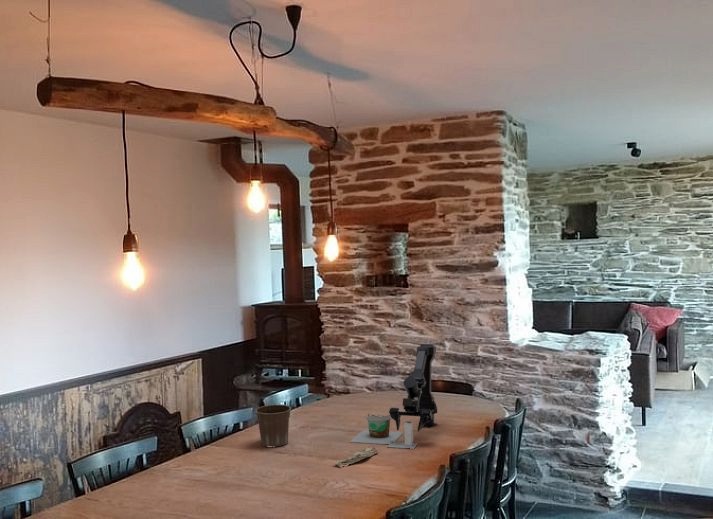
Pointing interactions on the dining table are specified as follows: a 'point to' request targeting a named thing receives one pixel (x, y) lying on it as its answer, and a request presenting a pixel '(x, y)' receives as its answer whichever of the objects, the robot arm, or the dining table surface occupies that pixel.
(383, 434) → the food container
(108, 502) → the dining table surface
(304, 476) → the dining table surface
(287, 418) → the plant pot
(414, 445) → the pull board
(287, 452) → the dining table surface
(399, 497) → the dining table surface
